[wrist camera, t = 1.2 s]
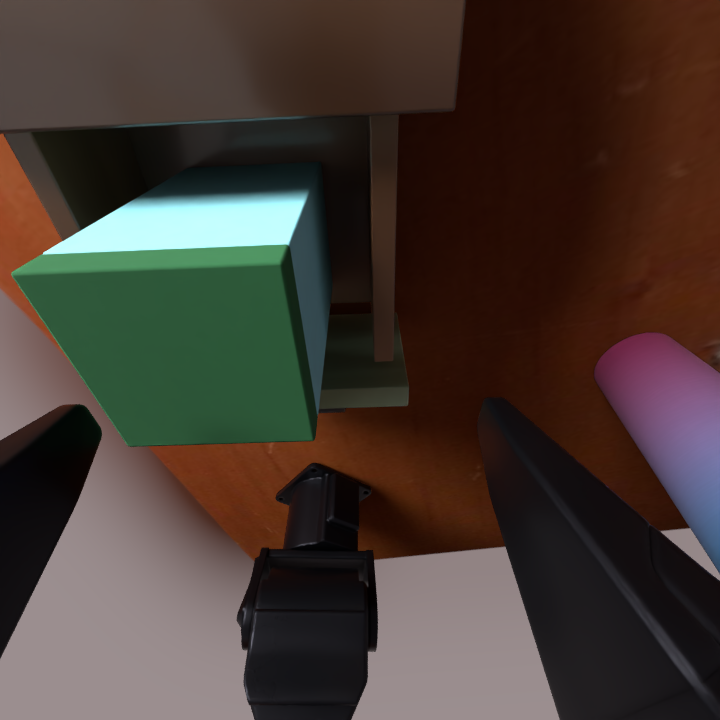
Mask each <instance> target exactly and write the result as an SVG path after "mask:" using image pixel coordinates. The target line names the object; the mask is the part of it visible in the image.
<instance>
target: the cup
mask: <svg viewBox="0 0 720 720" xmlns="http://www.w3.org/2000/svg"><path fill="white" fill-rule="evenodd" d="M594 379H595V381H596V383H597V384H598V386H599V387H600V389H601V391H602V392H603V394H604V395H605V397H606V398H607V400H608V401H609V403H610V404H611V406H612V408H613V409H614V411H615V412H616V414H617V415H618V417H619V418H620V420H621V422H622V423H623V425H624V426H625V428H626V429H627V431H628V432H629V434H630V435H631V437H632V439H633V440H634V442H635V443H636V445H637V446H638V448H639V449H640V451H641V452H642V454H643V456H644V457H645V459H646V460H647V462H648V463H649V465H650V466H651V468H652V470H653V471H654V473H655V474H656V476H657V477H658V479H659V480H660V482H661V483H662V485H663V487H664V488H665V490H666V491H667V493H668V494H669V496H670V497H671V499H672V500H673V502H674V504H675V505H676V507H677V508H678V510H679V511H680V513H681V514H682V516H683V518H684V519H685V521H686V522H687V524H688V525H689V527H690V528H691V530H692V531H693V533H694V535H695V536H696V538H697V539H698V541H699V542H700V544H701V545H702V547H703V548H704V550H705V552H706V553H707V555H708V556H709V558H710V559H711V561H712V562H713V564H714V566H715V567H716V569H717V570H718V572H719V573H720V373H719V372H718V371H716V370H715V369H713V368H712V367H711V366H709V365H708V364H707V363H705V362H704V361H702V360H701V359H700V358H698V357H697V356H696V355H694V354H693V353H691V352H690V351H689V350H687V349H686V348H685V347H683V346H682V345H680V344H679V343H678V342H676V341H675V340H674V339H672V338H671V337H669V336H668V335H665V334H662V333H654V332H651V333H642V334H638V335H634V336H631V337H629V338H626V339H624V340H622V341H620V342H618V343H617V344H615V345H614V346H612V347H611V348H610V349H609V350H607V351H606V352H605V353H604V354H603V355H602V357H601V358H600V359H599V361H598V362H597V364H596V367H595V369H594Z"/></svg>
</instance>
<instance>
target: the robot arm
mask: <svg viewBox="0 0 720 720" xmlns="http://www.w3.org/2000/svg"><path fill="white" fill-rule="evenodd" d="M477 432H478V438H479V443H480V448H481V453H482V459H483V464H484V469H485V474H486V480H487V485H488V489H489V494H490V498H491V501H492V505H493V508H494V511H495V514H496V518H497V521H498V524H499V527H500V530H501V533H502V537H503V540H504V543H505V546H506V549H507V553H508V556H509V559H510V562H511V565H512V568H513V572H514V575H515V578H516V581H517V584H518V587H519V591H520V594H521V597H522V600H523V604H524V606H525V610H526V613H527V616H528V620H529V623H530V626H531V629H532V632H533V635H534V639H535V642H536V645H537V648H538V651H539V655H540V658H541V661H542V664H543V667H544V671H545V674H546V677H547V680H548V683H549V686H550V690H551V693H552V696H553V699H554V702H555V706H556V709H557V712H558V715H559V718H560V720H720V581H719V580H718V579H717V578H715V577H714V576H713V575H711V574H710V573H709V572H708V571H707V570H705V569H704V568H703V567H702V566H700V565H699V564H698V563H697V562H696V561H694V560H693V559H692V558H691V557H689V556H688V555H687V554H686V553H685V552H684V551H682V550H681V549H680V548H679V547H678V546H676V545H675V544H674V543H673V542H672V541H670V540H669V539H668V538H667V537H666V536H665V535H663V534H662V533H661V532H660V531H659V530H658V529H657V528H655V527H654V526H652V525H650V526H649V522H648V521H647V520H646V519H645V518H644V517H642V516H641V515H640V514H639V513H638V512H637V511H635V510H634V509H633V508H632V507H631V506H630V505H628V504H627V503H626V502H625V501H624V500H623V499H621V498H620V497H619V496H618V495H617V494H616V493H615V492H613V491H612V490H611V489H610V488H609V487H608V486H606V485H605V484H604V483H603V482H602V481H601V480H599V479H598V478H597V477H596V476H595V475H594V474H592V473H591V472H590V471H589V470H588V469H587V468H585V467H584V466H583V465H582V464H581V463H580V462H578V461H577V460H576V459H575V458H574V457H573V456H571V455H570V454H569V453H568V452H567V451H566V450H565V449H563V448H562V447H561V446H560V445H559V444H558V443H556V442H555V441H554V440H553V439H552V438H551V437H549V436H548V435H547V434H546V433H545V432H544V431H542V430H541V429H540V428H539V427H538V426H537V425H535V424H534V423H533V422H532V421H531V420H530V419H528V418H527V417H526V416H525V415H524V414H523V413H522V412H520V411H519V410H518V409H517V408H516V407H515V406H513V405H512V404H511V403H510V402H509V401H508V400H506V399H505V398H502V397H488V398H485V399H484V401H483V403H482V407H481V411H480V414H479V418H478V422H477ZM101 436H102V431H101V428H100V426H99V425H98V423H97V422H96V420H95V419H94V417H93V416H92V414H91V413H90V412H89V410H88V409H87V408H86V407H85V406H84V405H80V404H78V405H77V404H75V405H62V406H59V407H57V408H56V409H54V410H52V411H51V412H49V413H47V414H45V415H44V416H42V417H40V418H39V419H37V420H35V421H33V422H32V423H30V424H28V425H26V426H25V427H23V428H21V429H19V430H18V431H16V432H14V433H13V434H11V435H9V436H7V437H6V438H4V439H2V440H0V658H1V656H2V654H3V652H4V650H5V648H6V646H7V644H8V642H9V640H10V637H11V636H12V634H13V632H14V630H15V628H16V626H17V623H18V621H19V620H20V618H21V616H22V614H23V611H24V609H25V607H26V605H27V603H28V601H29V599H30V597H31V595H32V593H33V591H34V589H35V587H36V585H37V583H38V581H39V579H40V577H41V575H42V573H43V571H44V569H45V567H46V565H47V562H48V561H49V559H50V557H51V555H52V553H53V551H54V548H55V547H56V545H57V542H58V540H59V538H60V536H61V534H62V532H63V530H64V528H65V526H66V524H67V522H68V520H69V518H70V516H71V514H72V512H73V510H74V508H75V506H76V503H77V501H78V499H79V496H80V494H81V491H82V489H83V486H84V483H85V481H86V478H87V475H88V473H89V470H90V467H91V465H92V462H93V459H94V457H95V454H96V451H97V449H98V446H99V443H100V440H101ZM370 494H371V487H370V486H368V485H365V484H363V483H361V482H359V481H356V480H354V479H352V478H349V477H347V476H345V475H343V474H340V473H338V472H336V471H334V470H331V469H329V468H327V467H324V466H322V465H320V464H317V463H312V464H310V465H309V466H308V467H306V468H305V469H304V470H303V471H302V472H301V473H300V474H299V475H297V476H296V477H295V478H294V479H293V480H292V481H291V482H290V483H288V484H287V485H286V486H285V487H284V488H283V489H282V490H280V491H279V492H278V493H277V495H276V500H277V501H278V502H281V503H284V504H286V505H289V506H290V507H289V513H288V520H287V526H286V533H285V539H284V546H283V549H269V548H262V549H261V552H260V556H259V557H257V558H255V563H254V568H253V572H252V577H251V581H250V584H249V586H248V589H247V591H246V594H245V596H244V599H243V601H242V604H241V606H240V609H239V611H238V615H237V622H238V624H239V625H240V627H241V635H242V641H241V642H242V649H243V650H248V652H247V659H246V665H245V673H244V687H245V692H246V696H247V700H248V703H249V705H251V709H252V712H253V716H254V719H255V720H351V719H352V716H353V714H354V712H355V709H356V707H357V705H358V702H359V700H360V697H361V696H362V693H363V691H364V688H365V686H366V683H367V678H368V651H370V652H373V651H374V652H375V651H376V648H377V633H378V614H377V613H378V612H377V594H376V582H375V570H374V556H373V550H366V551H358V530H359V502H360V501H362V500H363V499H365V498H366V497H367V496H369V495H370Z"/></svg>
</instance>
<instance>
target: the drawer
mask: <svg viewBox="0 0 720 720" xmlns="http://www.w3.org/2000/svg"><path fill="white" fill-rule="evenodd" d="M398 121H399V114H398V115H377V116H356V117H335V118H315V119H294V120H273V121H253V122H232V123H211V124H190V125H170V126H149V127H128V128H107V129H87V130H66V131H45V132H25V133H4V136H5V138H6V140H7V141H8V143H9V145H10V147H11V149H12V150H13V152H14V154H15V156H16V158H17V159H18V161H19V163H20V165H21V167H22V169H23V170H24V172H25V174H26V176H27V178H28V179H29V181H30V183H31V185H32V187H33V188H34V190H35V192H36V194H37V196H38V197H39V199H40V201H41V203H42V205H43V206H44V208H45V210H46V212H47V214H48V216H49V217H50V219H51V221H52V223H53V225H54V226H55V228H56V230H57V232H58V234H59V235H60V237H61V239H62V241H64V240H66V239H68V238H69V237H71V236H73V235H74V234H76V233H78V232H80V231H81V230H83V229H85V228H86V227H88V226H90V225H91V224H93V223H95V222H97V221H98V220H100V219H102V218H103V217H105V216H107V215H108V214H110V213H112V212H114V211H115V210H117V209H119V208H120V207H122V206H124V205H125V204H127V203H129V202H131V201H132V200H134V199H136V198H137V197H139V196H141V195H142V194H144V193H146V192H148V191H149V190H151V189H153V188H154V187H156V186H158V185H160V184H161V183H163V182H165V181H166V180H168V179H170V178H171V177H173V176H175V175H177V174H178V173H180V172H182V171H183V170H185V169H187V168H198V167H219V166H241V165H263V164H285V163H306V162H321V167H322V177H323V188H324V198H325V209H326V219H327V230H328V241H329V251H330V262H331V272H332V283H333V286H332V295H331V304H333V303H359V302H371V313H369V314H343V315H329V322H328V331H327V340H326V348H325V357H324V366H323V375H322V384H321V393H320V402H319V411H318V413H339V412H345V411H346V408H359V407H390V406H408V398H409V384H408V377H407V371H406V365H405V359H404V353H403V347H402V341H401V335H400V329H399V323H398V317H397V313H394V306H395V260H396V214H397V167H398Z"/></svg>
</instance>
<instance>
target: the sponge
mask: <svg viewBox="0 0 720 720" xmlns="http://www.w3.org/2000/svg"><path fill="white" fill-rule="evenodd" d="M11 274H12V277H13V278H14V280H15V281H16V283H17V284H18V286H19V287H20V289H21V290H22V292H23V293H24V294H25V296H26V297H27V299H28V300H29V302H30V303H31V305H32V306H33V308H34V309H35V311H36V312H37V314H38V315H39V316H40V318H41V319H42V321H43V322H44V324H45V325H46V327H47V328H48V330H49V331H50V333H51V334H52V336H53V337H54V338H55V340H56V341H57V343H58V344H59V346H60V347H61V349H62V350H63V352H64V353H65V355H66V356H67V358H68V359H69V360H70V362H71V363H72V365H73V366H74V368H75V369H76V371H77V372H78V374H79V375H80V377H81V378H82V380H83V381H84V382H85V384H86V385H87V387H88V388H89V390H90V391H91V393H92V394H93V396H94V397H95V399H96V400H97V401H98V403H99V404H100V406H101V407H102V409H103V410H104V412H105V413H106V415H107V416H108V418H109V419H110V421H111V422H112V423H113V425H114V426H115V428H116V429H117V431H118V432H119V434H120V435H121V437H122V438H123V440H124V441H125V442H126V444H127V445H128V446H130V447H136V446H168V445H200V444H232V443H264V442H296V441H314V440H315V436H316V427H317V418H318V411H319V402H320V393H321V384H322V375H323V366H324V357H325V348H326V340H327V331H328V322H329V313H330V304H331V295H332V286H333V283H332V272H331V262H330V251H329V241H328V230H327V219H326V209H325V198H324V188H323V177H322V167H321V162H306V163H285V164H263V165H241V166H219V167H198V168H187V169H185V170H183V171H182V172H180V173H178V174H177V175H175V176H173V177H171V178H170V179H168V180H166V181H165V182H163V183H161V184H160V185H158V186H156V187H154V188H153V189H151V190H149V191H148V192H146V193H144V194H142V195H141V196H139V197H137V198H136V199H134V200H132V201H131V202H129V203H127V204H125V205H124V206H122V207H120V208H119V209H117V210H115V211H114V212H112V213H110V214H108V215H107V216H105V217H103V218H102V219H100V220H98V221H97V222H95V223H93V224H91V225H90V226H88V227H86V228H85V229H83V230H81V231H80V232H78V233H76V234H74V235H73V236H71V237H69V238H68V239H66V240H64V241H63V242H61V243H59V244H57V245H56V246H54V247H52V248H51V249H49V250H47V251H45V252H44V253H43V254H42V255H40V256H38V257H37V258H35V259H33V260H31V261H30V262H28V263H26V264H25V265H23V266H21V267H20V268H18V269H16V270H15V271H13V272H12V273H11Z"/></svg>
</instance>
